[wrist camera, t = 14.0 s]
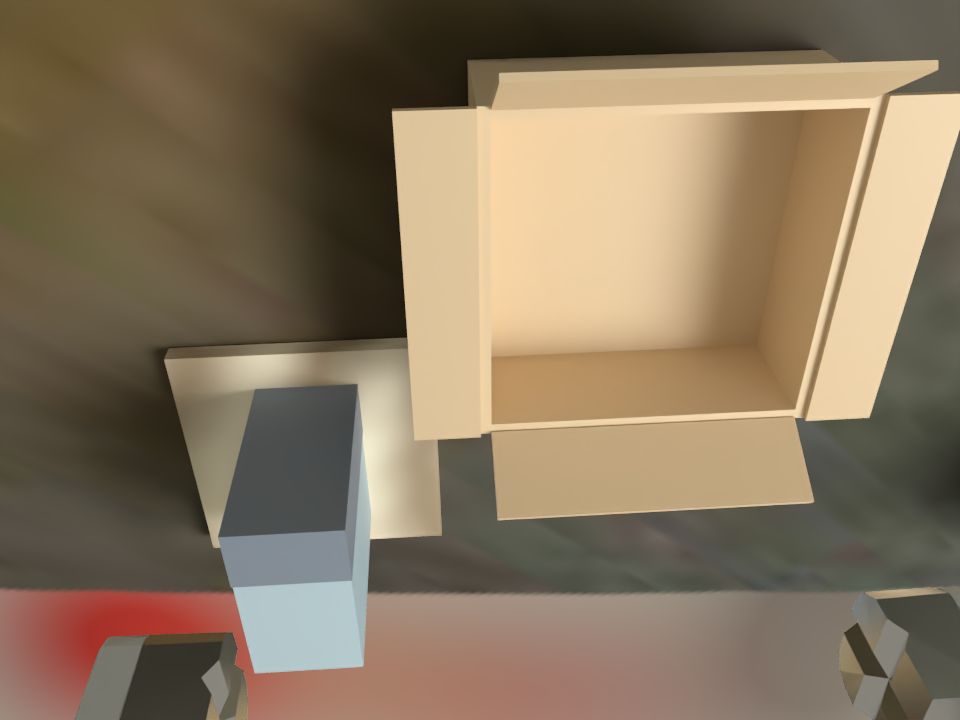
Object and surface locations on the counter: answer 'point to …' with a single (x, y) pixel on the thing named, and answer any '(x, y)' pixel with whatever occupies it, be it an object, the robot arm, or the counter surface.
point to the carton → (661, 267)
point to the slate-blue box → (300, 529)
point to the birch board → (369, 363)
